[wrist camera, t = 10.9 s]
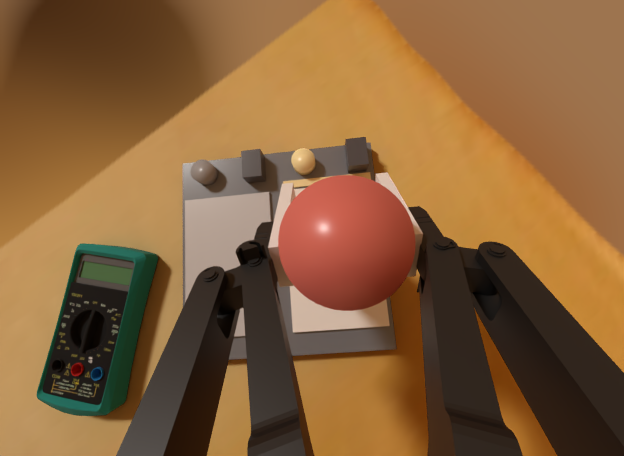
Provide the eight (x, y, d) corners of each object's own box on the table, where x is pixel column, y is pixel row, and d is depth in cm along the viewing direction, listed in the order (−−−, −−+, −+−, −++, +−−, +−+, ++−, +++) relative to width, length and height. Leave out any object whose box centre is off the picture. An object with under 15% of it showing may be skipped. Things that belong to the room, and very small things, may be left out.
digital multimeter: (59, 392, 25) (23, 409, 22) (99, 243, 27) (71, 240, 24) (128, 408, 24) (100, 427, 21) (163, 252, 26) (142, 251, 23)
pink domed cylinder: (308, 290, 20) (282, 315, 10) (302, 222, 21) (274, 182, 11) (378, 285, 19) (425, 305, 9) (370, 215, 20) (405, 167, 10)
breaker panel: (189, 358, 24) (172, 369, 21) (188, 167, 27) (173, 157, 24) (393, 345, 22) (401, 355, 20) (368, 147, 25) (373, 133, 23)
